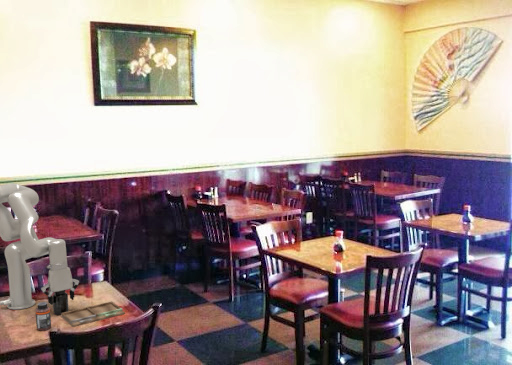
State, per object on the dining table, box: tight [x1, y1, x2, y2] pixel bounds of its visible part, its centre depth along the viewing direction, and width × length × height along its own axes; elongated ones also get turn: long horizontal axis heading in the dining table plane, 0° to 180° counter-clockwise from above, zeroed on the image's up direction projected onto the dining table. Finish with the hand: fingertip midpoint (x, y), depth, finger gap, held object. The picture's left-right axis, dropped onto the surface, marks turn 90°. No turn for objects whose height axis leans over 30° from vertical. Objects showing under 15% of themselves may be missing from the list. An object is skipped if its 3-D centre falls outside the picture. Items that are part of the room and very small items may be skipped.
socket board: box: [60, 301, 126, 328], centre depth 249 cm, size 24×15×2 cm, turn 128°
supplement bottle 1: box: [35, 301, 52, 331], centre depth 234 cm, size 6×6×11 cm
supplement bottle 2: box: [51, 290, 70, 316], centre depth 253 cm, size 7×7×12 cm
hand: (61, 301), depth 252 cm, fingers open, 9 cm apart
